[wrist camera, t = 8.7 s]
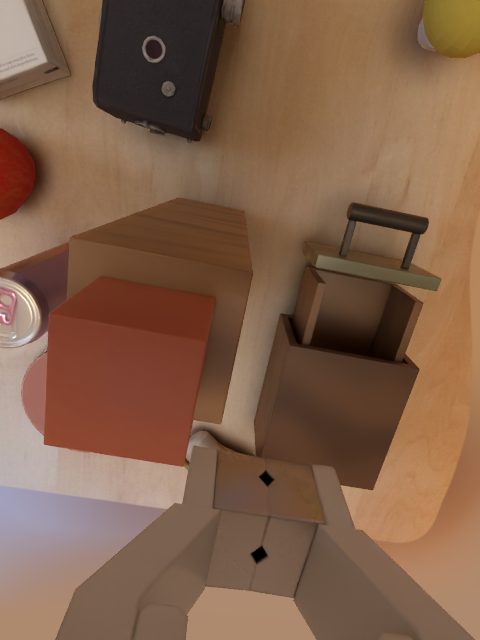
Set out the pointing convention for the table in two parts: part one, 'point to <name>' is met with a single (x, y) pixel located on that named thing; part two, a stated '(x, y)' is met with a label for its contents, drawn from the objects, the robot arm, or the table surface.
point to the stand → (179, 274)
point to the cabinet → (330, 407)
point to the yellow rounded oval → (451, 27)
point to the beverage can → (32, 295)
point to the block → (126, 370)
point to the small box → (27, 47)
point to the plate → (36, 393)
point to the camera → (161, 61)
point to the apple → (14, 174)
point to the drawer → (362, 292)
